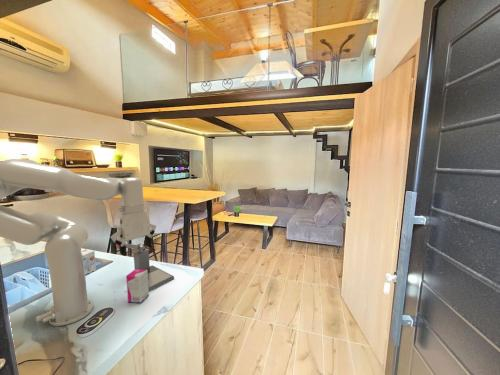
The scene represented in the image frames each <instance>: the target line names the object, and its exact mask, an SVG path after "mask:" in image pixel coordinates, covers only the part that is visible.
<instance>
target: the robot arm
mask: <svg viewBox="0 0 500 375" xmlns="http://www.w3.org/2000/svg"><path fill="white" fill-rule="evenodd" d="M25 188H27V189H33V190H34V189H35V190H42V191H48V192H55V193H60V194H63V195H67V196H72V197H76V198H81V199H88V200H95V201H110V200H112V199H114V198H115V197H117V196H120V199H121V206H120V207H119V208H118V210H117V211H118V212H119V213H121V214H120V218H119V230H117V231H116V232H114V233H113V234H112V235H111V236H110V239H111V240H112V242H113V243H114V244H115V245H116V244H118V245H119V249H118V250H119V254H120V255H121V256H123V257H126V256H127V248H126V246H125V244H127V241H133V240H136V239H139V238H143V237H144V243H145V244H144V246H145V247H146V248H152V238H153V235H154V233H155V231H156V229H157V225H155V224H151V223H150V219H149V215H148V211H147V210H145V205H144V204H145V203H144V202H145V201H144V189H143V180H142V178H140V177H136V176H135V177H132V176H131V177H124V178H122V177H105V178H98V177H94V176H87V175H83V174H78V173H75V172H73V171H71V170H69V169H68V168H65V167H61V166H54V165H49V164H48V165H47V164H43V163H39V162H38V161H34V160H32V159H22V158H21V159H20V158H18V159H17V158H16V159H15V158H14V159H7V160H5V159H4V160H3V161H1V162H0V200H2V199H4V198H6V197H8V196H10V195H12V194H15V193H16V192H18V191H21V190H23V189H25ZM0 237H1V238H3V239H5V240H6V239H7V240H10V241H13V242H15V243H18V244H21V245H24V246H31V245H32V246H33V245H36V244H38V243H41V241H43V240H47V241H46V243H45V245H44V250H43V251H44V252H43V253H44V256H45V259H46V262H47V265H48V270H49V278H50V285H51V293H52V294H51V296H52V302H53V304H52V306H51V307H50V309H49V310H48V311H47V312H45V313H43V314H39V315H37V316H35V321H36V323H40V322H42V323H43V324H44V323H47V322H49V324H50V325H51V326H54V327H60V326H67V325H71V324H73V323H75V322H79V320H82V319H83V318H84V319H85V317H86V316H88V315H89V314H90V313H91V312H92V311H93V310H94V302H92V301H91V300H88V291H87V290H88V289H87V281H86V275H85V268H84V261H83V257H82V253H81V251H82V248H83V246H84V245H85V244H86V242H88V239H89V232H88V230H87V228H86V227H84V226H83V225H81V224H80V223H77V222H75V221H72V220H70V219H68V218H65V217H62V216H60V215H58V214H55V213H51V212H47V211H38V212H33V213H31V214H26V213H23V212H21V211H18V210H15V209H14V208H11V207H8V206H5V205H1V204H0ZM118 237H119V238H120V239H119V240H118Z"/></svg>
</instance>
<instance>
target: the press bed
mask: <svg viewBox="0 0 500 375" xmlns="http://www.w3.org/2000/svg"><path fill="white" fill-rule="evenodd" d="M133 263H134V265H133V266H134V270H135V269H140V270H147V272H148V289H149V293H150V292H152V291H154V290H157V289H158V288H160V287H162V286H164V285H166V284H168V283H170V282H172V281H175V276H174V275H172V274H171V273H169V272H166V271H164V270H162V269H160V268H159V267H156V266H154V265H150V251H149V250H148V249H145V250H144V251H140V250H138V249H137V250H134V251H133Z"/></svg>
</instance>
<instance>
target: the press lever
mask: <svg viewBox="0 0 500 375" xmlns="http://www.w3.org/2000/svg"><path fill="white" fill-rule="evenodd" d="M115 246H116V249H118V250H120V249H119V245H118V244H116V243H115ZM125 246H126V249H133V250H137V251H138V250H140V251H144V250H147V249H146V248H147V247H146V246H145V245H143V244H140V243H138V244H133V243H132V244H131V243H125Z"/></svg>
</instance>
